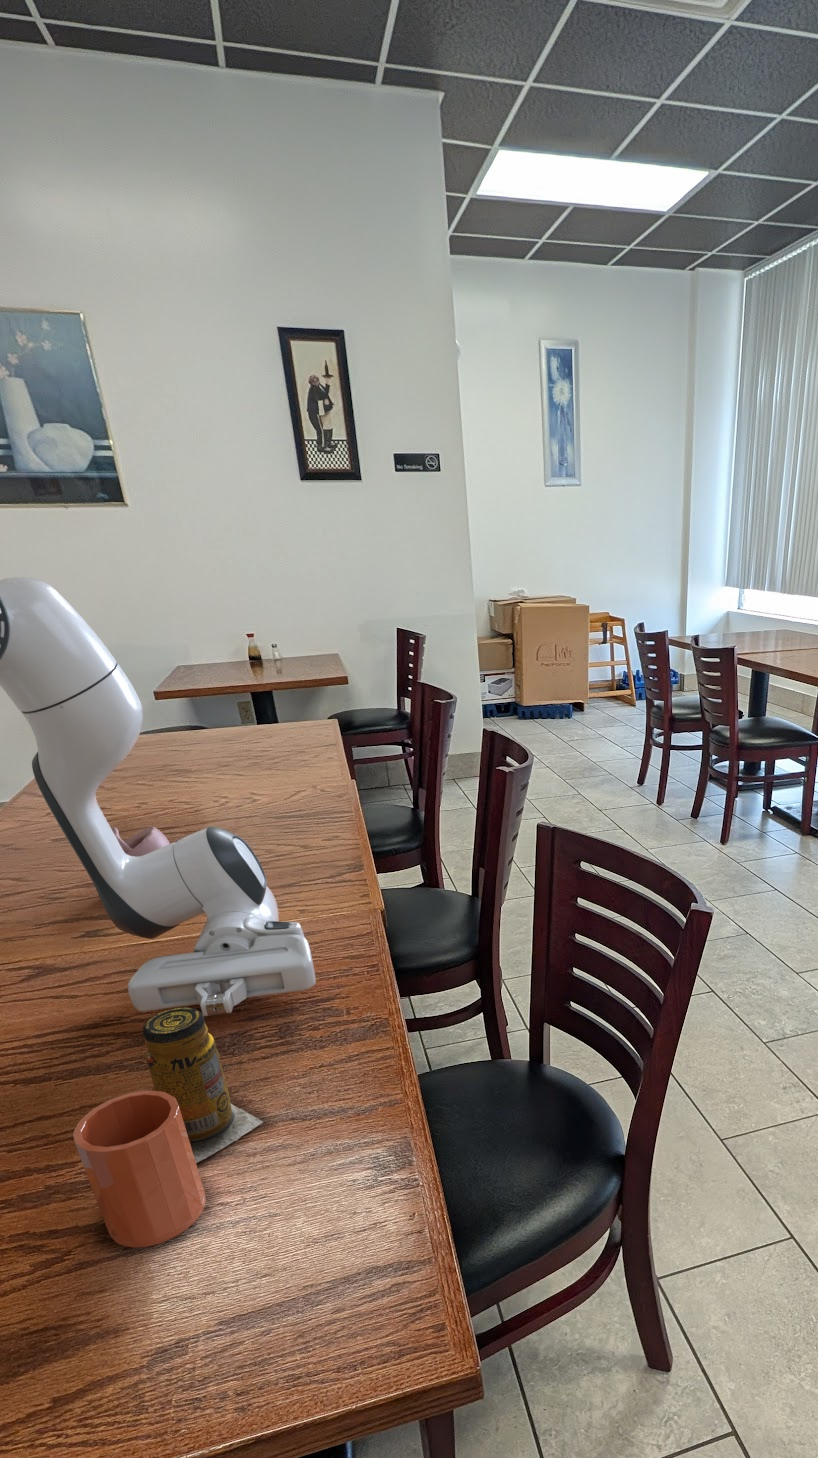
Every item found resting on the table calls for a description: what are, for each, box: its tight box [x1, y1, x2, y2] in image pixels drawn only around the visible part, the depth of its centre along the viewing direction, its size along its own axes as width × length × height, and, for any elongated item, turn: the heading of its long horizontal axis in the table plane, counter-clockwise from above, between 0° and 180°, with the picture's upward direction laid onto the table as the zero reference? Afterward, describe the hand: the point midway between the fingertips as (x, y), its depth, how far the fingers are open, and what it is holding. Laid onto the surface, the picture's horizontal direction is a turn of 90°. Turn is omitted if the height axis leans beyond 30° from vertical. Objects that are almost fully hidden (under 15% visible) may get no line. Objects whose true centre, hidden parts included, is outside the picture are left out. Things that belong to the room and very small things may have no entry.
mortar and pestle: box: [111, 825, 171, 857], centre depth 134 cm, size 12×12×11 cm
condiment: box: [142, 1006, 264, 1164], centre depth 77 cm, size 7×8×12 cm
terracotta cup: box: [72, 1089, 207, 1249], centre depth 68 cm, size 8×8×10 cm
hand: (215, 1009), depth 89 cm, fingers closed
